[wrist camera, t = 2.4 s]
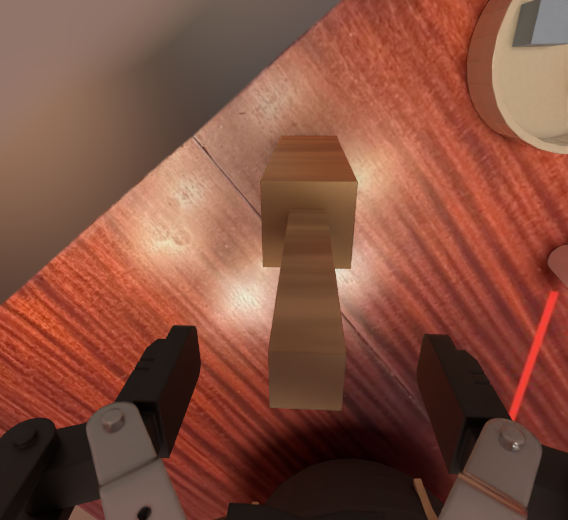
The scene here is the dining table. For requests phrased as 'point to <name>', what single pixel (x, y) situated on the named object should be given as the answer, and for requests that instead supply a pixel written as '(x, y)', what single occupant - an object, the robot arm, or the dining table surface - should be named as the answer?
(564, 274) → the smoothie
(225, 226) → the dining table surface
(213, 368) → the dining table surface
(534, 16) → the bluegrey block
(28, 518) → the robot arm
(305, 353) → the wooden square bar
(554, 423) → the dining table surface
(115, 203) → the dining table surface
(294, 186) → the oak stand
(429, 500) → the bowl
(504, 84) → the round beige tray
